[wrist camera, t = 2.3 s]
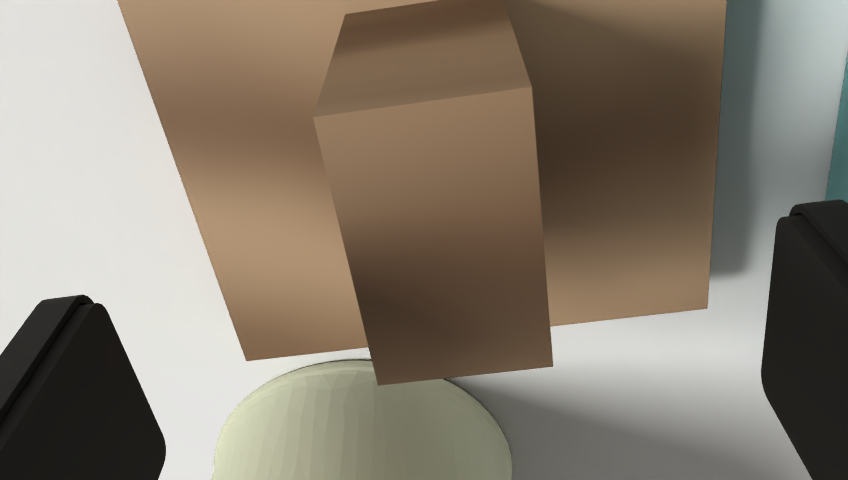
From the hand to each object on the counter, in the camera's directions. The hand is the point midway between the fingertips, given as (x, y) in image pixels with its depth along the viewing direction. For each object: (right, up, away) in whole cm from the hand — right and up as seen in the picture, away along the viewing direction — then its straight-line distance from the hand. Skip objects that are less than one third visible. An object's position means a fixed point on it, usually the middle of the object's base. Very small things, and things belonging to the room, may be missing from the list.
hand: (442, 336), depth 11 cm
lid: (0, +4, +6) cm, 7 cm away
